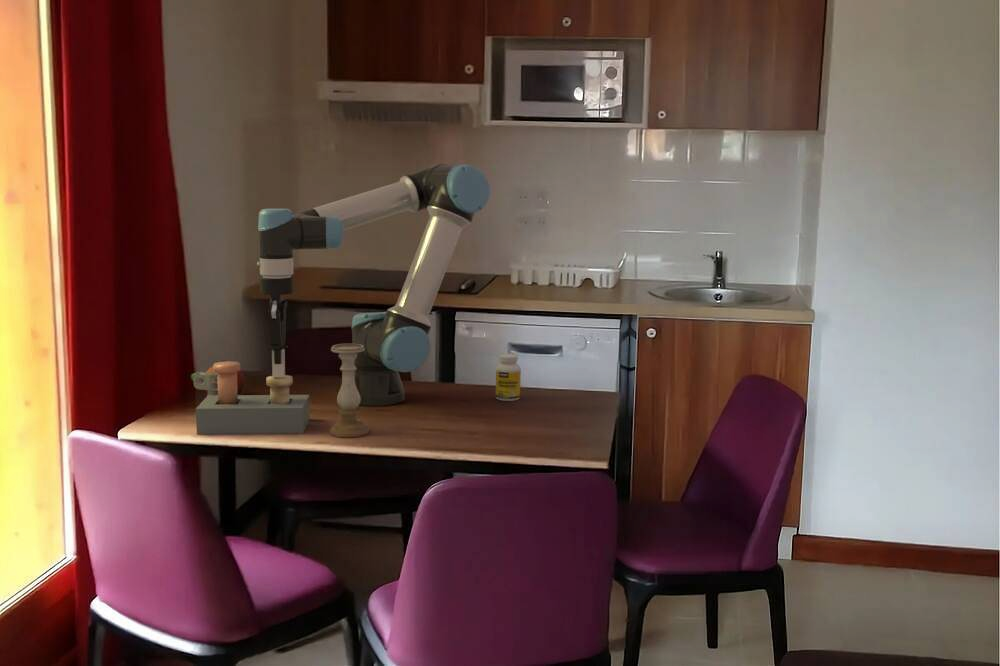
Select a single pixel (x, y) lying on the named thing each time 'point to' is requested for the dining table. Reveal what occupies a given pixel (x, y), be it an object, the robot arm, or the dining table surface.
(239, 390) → the fruit
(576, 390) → the dining table surface
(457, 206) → the robot arm
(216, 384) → the mechanical component
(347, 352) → the candle holder
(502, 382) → the pill bottle
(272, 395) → the beech plug
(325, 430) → the dining table surface
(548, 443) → the dining table surface
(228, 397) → the terracotta plug
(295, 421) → the socket board
